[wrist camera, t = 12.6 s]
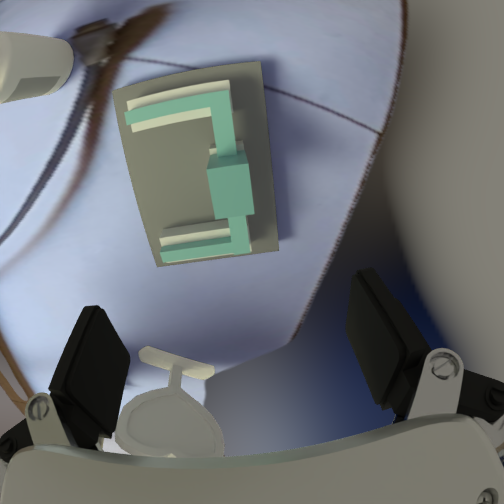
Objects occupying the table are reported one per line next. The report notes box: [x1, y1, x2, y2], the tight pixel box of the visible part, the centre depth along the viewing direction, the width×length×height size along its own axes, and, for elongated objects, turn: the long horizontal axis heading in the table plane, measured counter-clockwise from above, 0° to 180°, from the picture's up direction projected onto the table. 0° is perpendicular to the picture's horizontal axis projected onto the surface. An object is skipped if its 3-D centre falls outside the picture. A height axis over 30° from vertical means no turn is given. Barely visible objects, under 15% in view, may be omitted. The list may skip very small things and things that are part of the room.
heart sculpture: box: [115, 346, 225, 458], centre depth 37 cm, size 16×5×18 cm, turn 62°
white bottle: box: [0, 32, 74, 104], centre depth 12 cm, size 7×7×18 cm
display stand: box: [112, 61, 279, 267], centre depth 27 cm, size 20×14×4 cm
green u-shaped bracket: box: [124, 90, 255, 263], centre depth 23 cm, size 15×10×5 cm, turn 6°
